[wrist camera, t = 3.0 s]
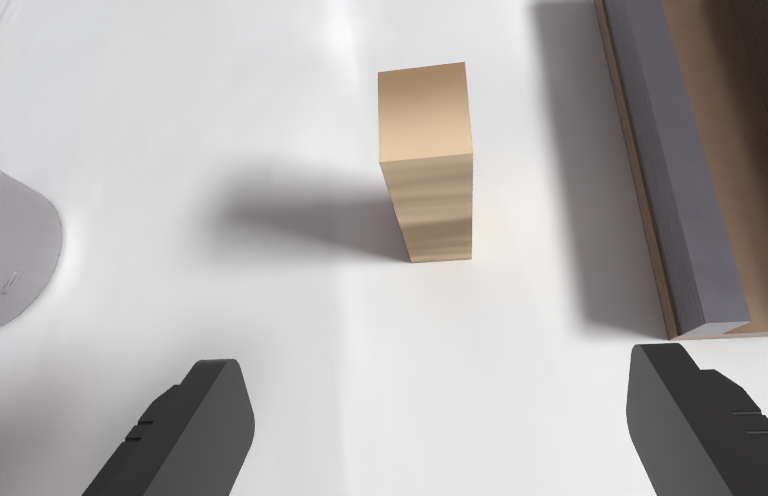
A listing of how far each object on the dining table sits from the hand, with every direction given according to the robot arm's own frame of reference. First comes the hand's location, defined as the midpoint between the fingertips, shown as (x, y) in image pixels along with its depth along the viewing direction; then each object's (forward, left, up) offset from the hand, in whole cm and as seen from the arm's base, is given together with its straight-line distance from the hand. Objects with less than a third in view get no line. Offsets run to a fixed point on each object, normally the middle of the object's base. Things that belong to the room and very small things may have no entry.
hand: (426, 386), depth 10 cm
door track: (-1, +19, -13) cm, 23 cm away
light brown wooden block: (-7, +6, -13) cm, 16 cm away
